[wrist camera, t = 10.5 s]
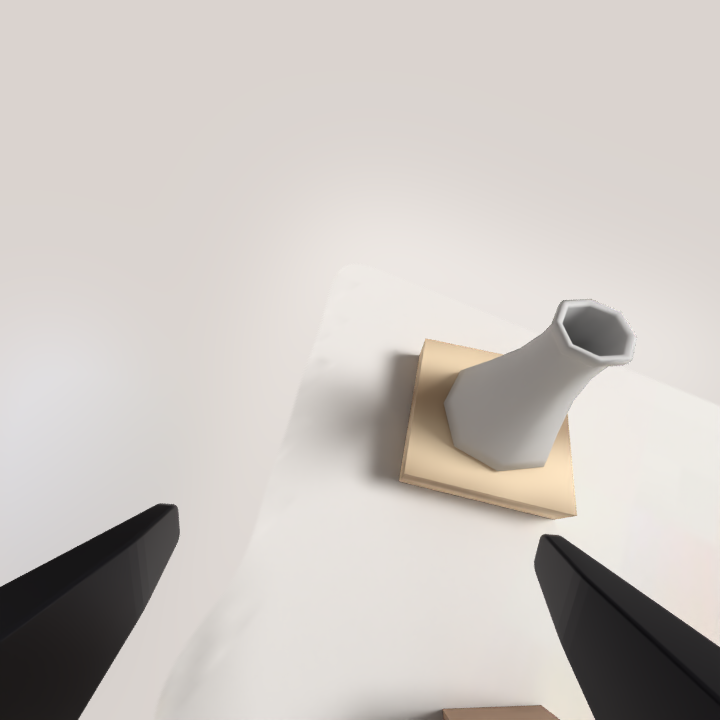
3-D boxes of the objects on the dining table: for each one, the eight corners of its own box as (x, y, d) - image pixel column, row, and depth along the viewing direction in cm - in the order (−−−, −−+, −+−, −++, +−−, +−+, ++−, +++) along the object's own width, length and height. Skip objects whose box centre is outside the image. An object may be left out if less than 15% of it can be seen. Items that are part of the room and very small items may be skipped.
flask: (447, 359, 24) (505, 250, 15) (549, 380, 24) (669, 280, 15) (436, 458, 20) (504, 388, 12) (557, 486, 20) (720, 435, 11)
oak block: (549, 520, 22) (576, 515, 19) (397, 483, 23) (404, 473, 20) (542, 385, 27) (563, 367, 24) (418, 358, 28) (425, 338, 25)
